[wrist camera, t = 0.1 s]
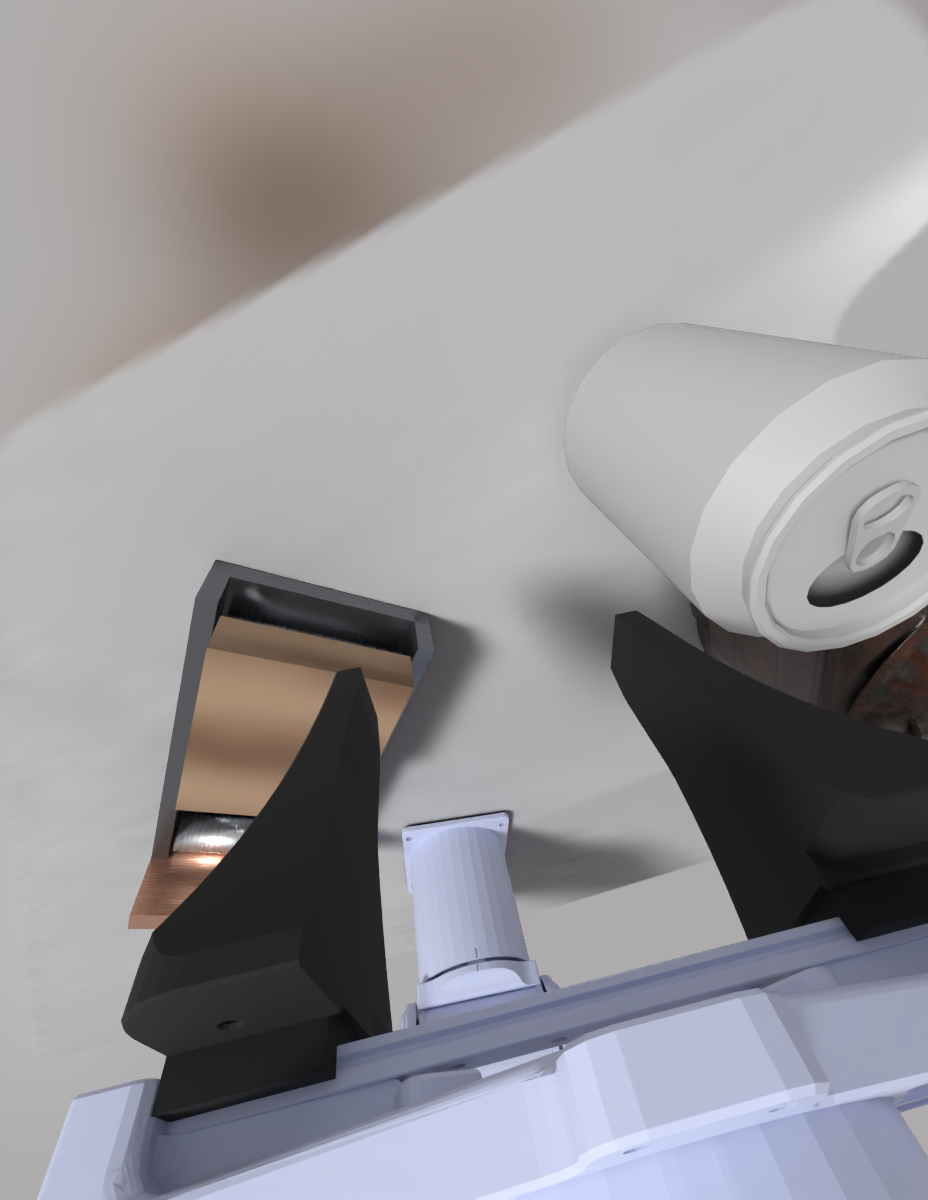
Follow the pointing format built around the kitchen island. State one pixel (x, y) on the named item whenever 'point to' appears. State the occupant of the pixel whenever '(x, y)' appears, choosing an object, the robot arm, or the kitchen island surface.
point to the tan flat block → (271, 709)
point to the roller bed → (231, 591)
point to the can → (764, 476)
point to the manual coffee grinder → (840, 671)
